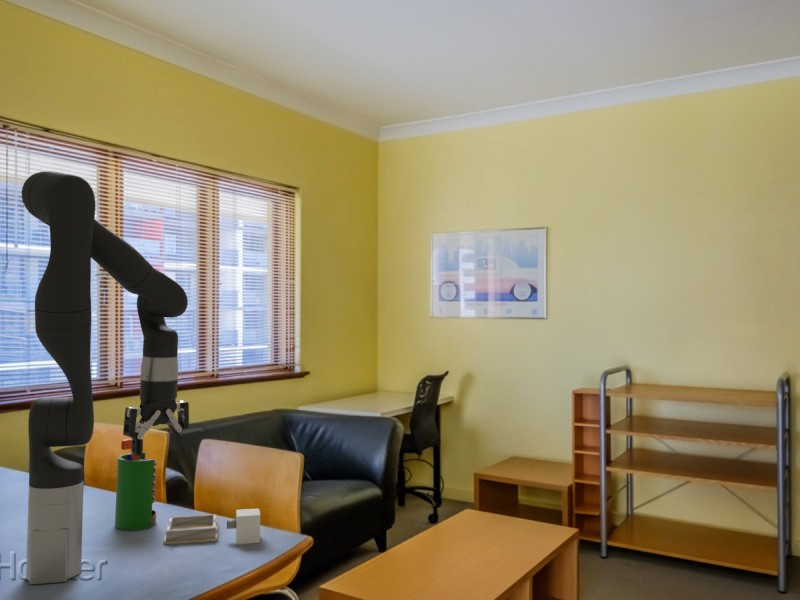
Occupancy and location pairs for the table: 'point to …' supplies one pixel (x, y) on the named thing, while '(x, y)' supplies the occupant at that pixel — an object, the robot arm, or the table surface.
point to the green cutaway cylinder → (135, 490)
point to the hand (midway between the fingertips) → (156, 452)
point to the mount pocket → (191, 529)
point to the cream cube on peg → (246, 526)
